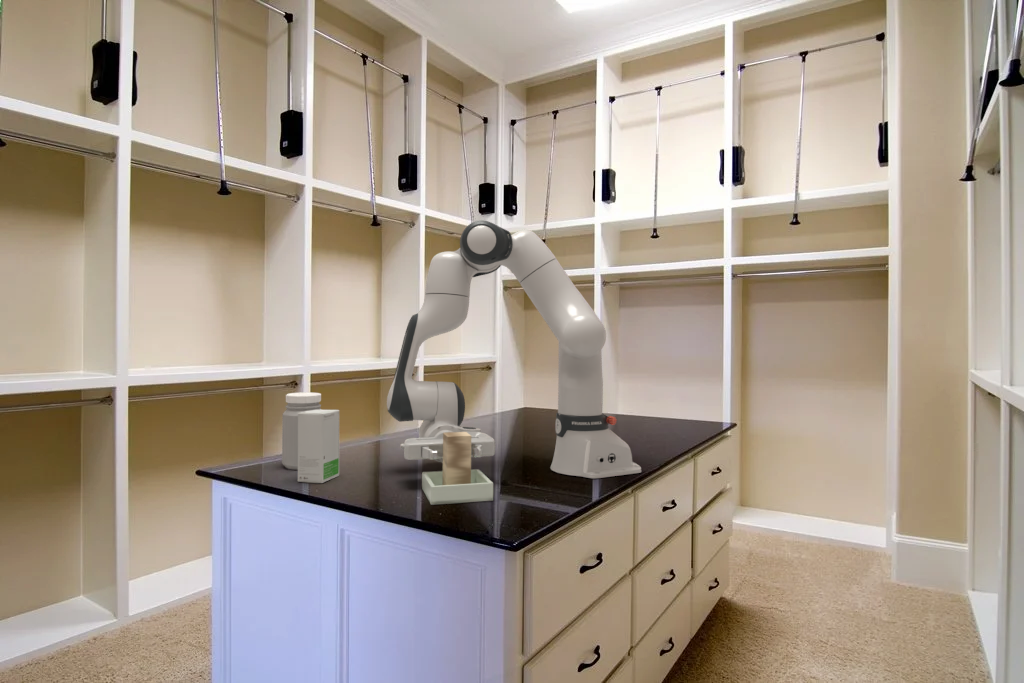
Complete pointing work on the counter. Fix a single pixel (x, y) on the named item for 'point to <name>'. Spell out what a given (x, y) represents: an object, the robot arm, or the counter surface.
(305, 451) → the skincare box
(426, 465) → the counter surface
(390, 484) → the counter surface
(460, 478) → the oak block
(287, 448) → the jar
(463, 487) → the dish
